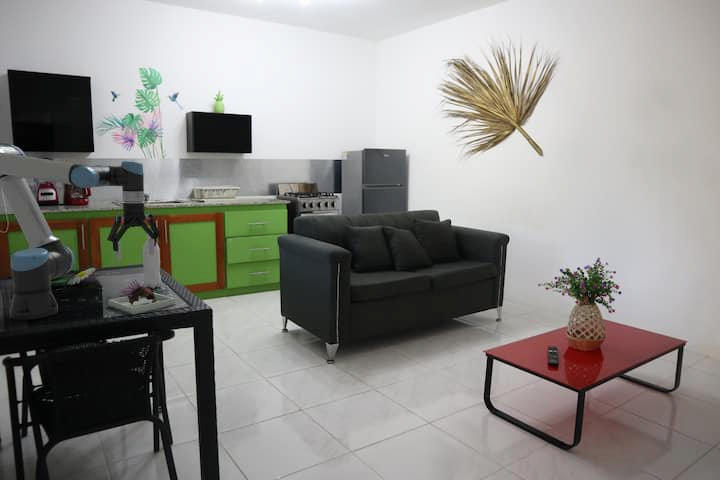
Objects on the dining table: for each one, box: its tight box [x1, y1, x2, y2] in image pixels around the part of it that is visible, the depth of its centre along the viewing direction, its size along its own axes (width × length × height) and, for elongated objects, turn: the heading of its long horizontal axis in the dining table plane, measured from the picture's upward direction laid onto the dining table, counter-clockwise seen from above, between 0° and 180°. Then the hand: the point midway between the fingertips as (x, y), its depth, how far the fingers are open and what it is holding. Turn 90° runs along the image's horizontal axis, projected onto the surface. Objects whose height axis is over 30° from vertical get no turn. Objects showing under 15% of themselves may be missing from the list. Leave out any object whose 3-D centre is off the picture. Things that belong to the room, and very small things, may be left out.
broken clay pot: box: [127, 285, 157, 305], centre depth 202 cm, size 12×10×8 cm
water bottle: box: [142, 230, 162, 289], centre depth 230 cm, size 7×7×25 cm
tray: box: [107, 292, 176, 316], centre depth 202 cm, size 18×18×2 cm
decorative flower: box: [51, 267, 96, 286], centre depth 232 cm, size 13×5×30 cm
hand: (135, 257), depth 200 cm, fingers open, 13 cm apart
